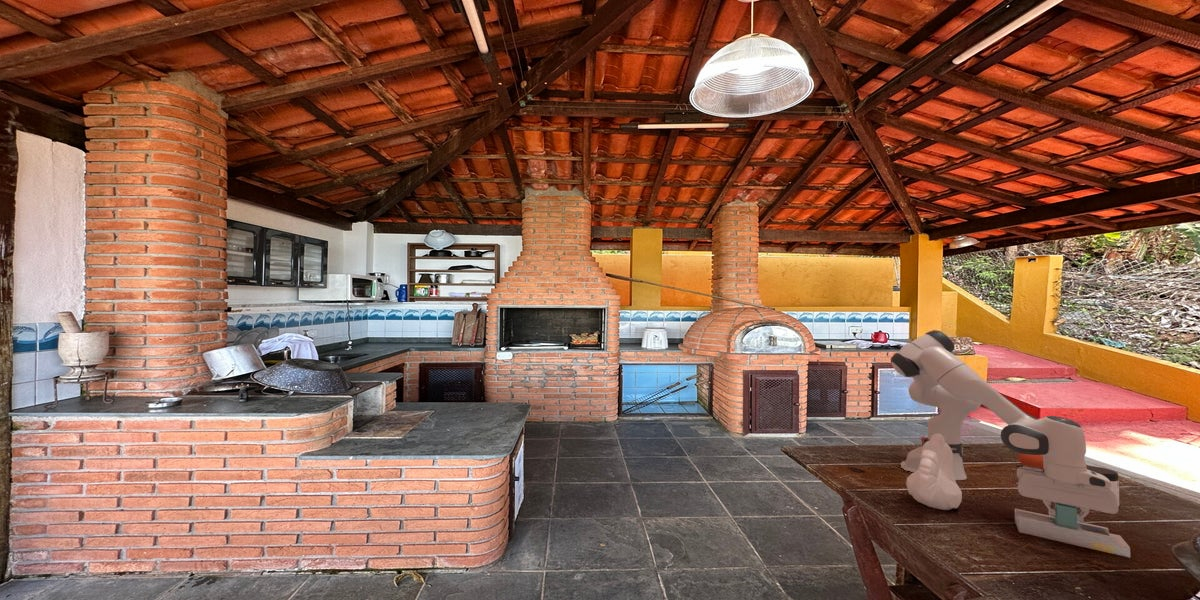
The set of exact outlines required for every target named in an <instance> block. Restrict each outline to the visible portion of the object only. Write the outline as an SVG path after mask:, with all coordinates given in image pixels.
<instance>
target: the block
mask: <svg viewBox="0 0 1200 600" xmlns="http://www.w3.org/2000/svg"><path fill="white" fill-rule="evenodd" d="M1053 503H1054V506H1053V507H1054V510H1056V512H1057V514H1056V515H1057V517H1055V521H1056V523H1057V525H1062V526H1066V527H1071V528H1076V529H1078V525H1077V514H1078V507H1075V506H1070V505H1065V504H1060V503H1055V502H1053Z"/></svg>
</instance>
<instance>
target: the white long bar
mask: <svg viewBox="0 0 1200 600" xmlns="http://www.w3.org/2000/svg"><path fill="white" fill-rule="evenodd" d="M1014 522H1015V525H1016V528H1017V531H1018V533H1021V534H1026V535H1031V536H1035V537H1039V538H1043V539H1047V540H1052V541H1057V542H1060V543H1064V544H1068V545H1073V546H1078V547H1082V548H1087V549H1091V550H1096V551H1098V552H1099V551H1100V552H1103V553H1107V554H1112V555H1117V556H1121V557H1125V558H1129V559H1131V547H1130V546H1129V544H1128V543H1127V542H1126V541H1125V540H1124V538H1123V537H1122V536H1121V535H1120V534H1115V533H1114V534H1113V533H1110V530H1109V528H1108V527H1105V526H1101V525H1095V524H1093V523H1092V524H1091V523H1088V522H1087V523H1086V522H1084V523H1081V522H1077V525H1078V529H1076V528H1071V527H1066V526H1062V525H1057V523H1056V521H1055V517H1053V516H1049V514H1043V513H1038V512H1033V511H1029V510H1025V509H1019V508H1014Z"/></svg>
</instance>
